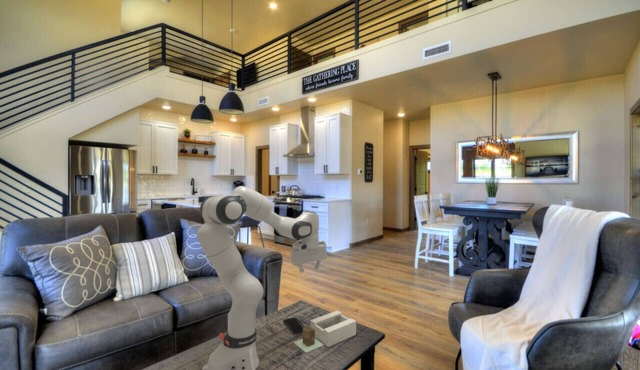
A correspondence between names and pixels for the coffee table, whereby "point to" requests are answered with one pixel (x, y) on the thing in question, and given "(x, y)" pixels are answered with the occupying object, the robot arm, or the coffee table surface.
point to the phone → (294, 325)
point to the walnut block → (308, 336)
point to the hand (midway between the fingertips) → (309, 270)
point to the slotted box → (333, 328)
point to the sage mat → (310, 348)
